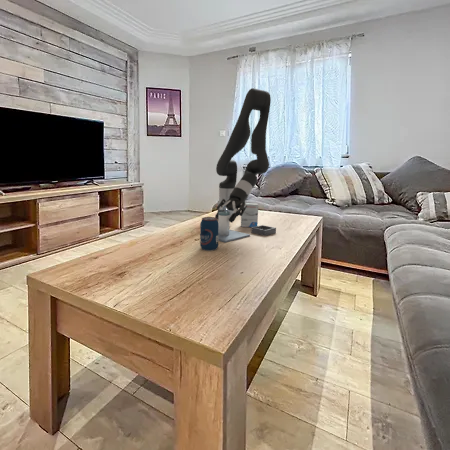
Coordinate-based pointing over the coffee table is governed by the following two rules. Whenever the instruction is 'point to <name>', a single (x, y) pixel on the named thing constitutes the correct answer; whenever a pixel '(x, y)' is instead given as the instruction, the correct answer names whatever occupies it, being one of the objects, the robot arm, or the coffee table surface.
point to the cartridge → (223, 223)
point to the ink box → (250, 216)
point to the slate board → (232, 236)
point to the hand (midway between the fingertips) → (223, 219)
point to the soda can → (209, 233)
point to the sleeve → (263, 230)
